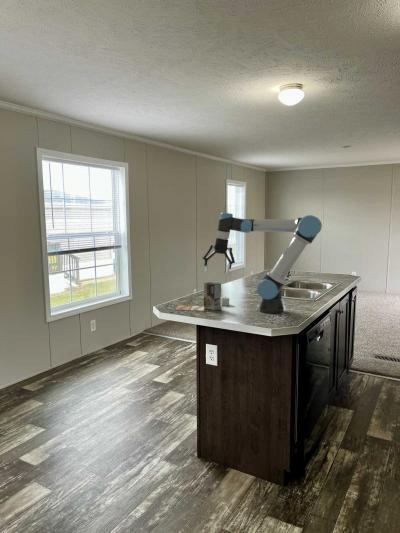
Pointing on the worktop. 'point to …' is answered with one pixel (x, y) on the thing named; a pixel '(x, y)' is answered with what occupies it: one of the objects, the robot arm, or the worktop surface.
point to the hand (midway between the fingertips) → (216, 272)
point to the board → (192, 308)
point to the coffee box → (212, 295)
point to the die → (224, 301)
